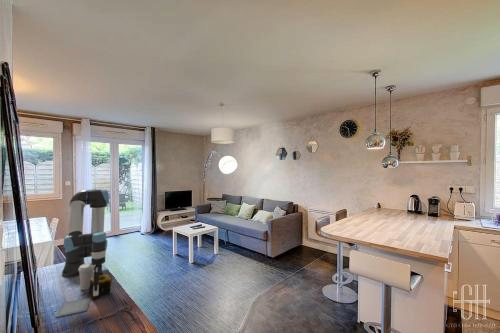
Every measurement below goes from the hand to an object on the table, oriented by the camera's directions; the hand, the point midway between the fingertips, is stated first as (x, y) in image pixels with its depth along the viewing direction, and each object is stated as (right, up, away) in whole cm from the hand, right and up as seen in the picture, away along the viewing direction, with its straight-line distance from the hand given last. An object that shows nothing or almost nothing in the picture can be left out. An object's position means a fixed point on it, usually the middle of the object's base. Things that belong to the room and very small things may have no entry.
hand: (97, 290), depth 146 cm
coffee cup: (-14, -3, +9) cm, 17 cm away
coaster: (-5, -3, -13) cm, 14 cm away
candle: (+1, -3, +1) cm, 3 cm away
